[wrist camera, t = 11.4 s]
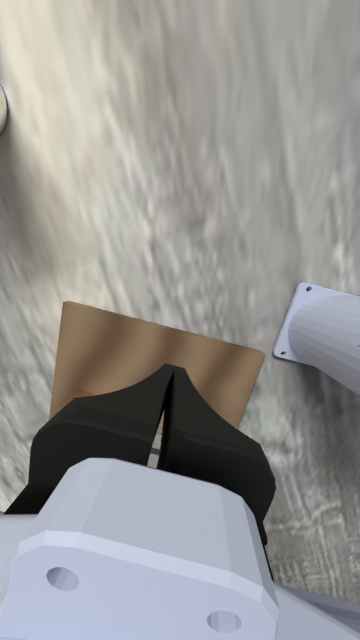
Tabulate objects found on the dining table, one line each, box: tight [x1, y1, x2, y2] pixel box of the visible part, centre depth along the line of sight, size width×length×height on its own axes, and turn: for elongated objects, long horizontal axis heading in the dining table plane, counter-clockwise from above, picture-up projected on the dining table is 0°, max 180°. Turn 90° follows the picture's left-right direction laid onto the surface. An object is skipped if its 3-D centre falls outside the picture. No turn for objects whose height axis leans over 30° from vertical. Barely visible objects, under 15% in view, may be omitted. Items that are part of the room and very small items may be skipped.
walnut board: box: [49, 301, 265, 469], centre depth 21 cm, size 22×18×1 cm
